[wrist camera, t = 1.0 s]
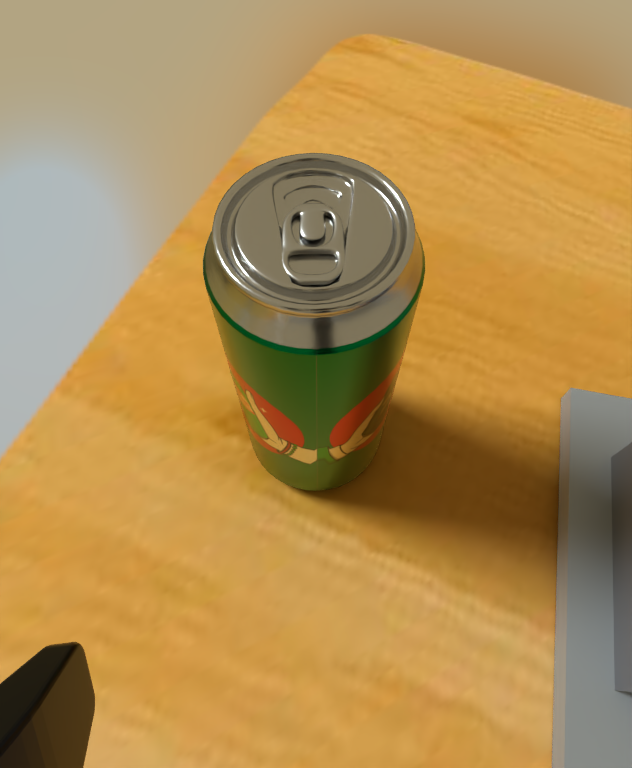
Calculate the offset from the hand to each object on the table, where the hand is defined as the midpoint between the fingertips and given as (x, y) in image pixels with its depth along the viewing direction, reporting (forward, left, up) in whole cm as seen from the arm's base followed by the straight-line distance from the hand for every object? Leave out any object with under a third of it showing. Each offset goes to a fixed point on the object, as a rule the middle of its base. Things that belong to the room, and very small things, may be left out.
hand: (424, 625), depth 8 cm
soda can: (+7, +3, -13) cm, 16 cm away
